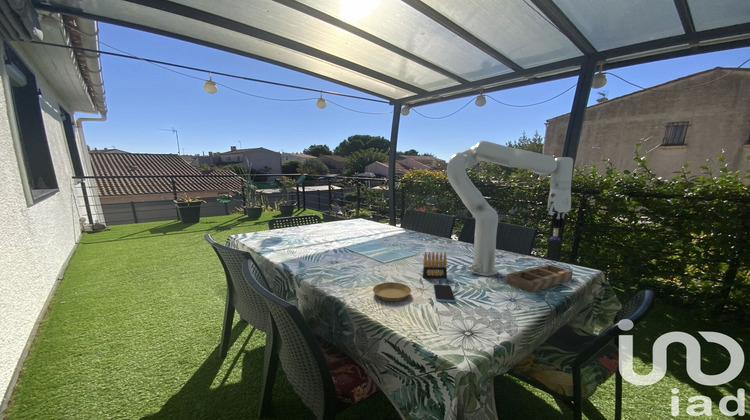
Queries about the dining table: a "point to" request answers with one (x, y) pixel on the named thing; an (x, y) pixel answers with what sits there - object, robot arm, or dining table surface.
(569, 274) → the tray
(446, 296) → the smartphone
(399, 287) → the plant saucer
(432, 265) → the ammunition clip
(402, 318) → the dining table surface
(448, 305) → the dining table surface
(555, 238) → the toy lamp
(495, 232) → the robot arm
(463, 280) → the dining table surface
